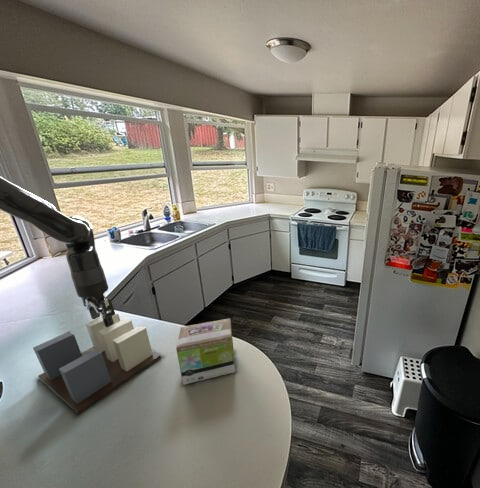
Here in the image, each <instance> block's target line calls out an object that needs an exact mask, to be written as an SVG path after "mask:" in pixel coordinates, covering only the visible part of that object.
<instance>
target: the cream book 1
mask: <svg viewBox="0 0 480 488" xmlns="http://www.w3.org/2000/svg"><path fill="white" fill-rule="evenodd" d="M114 312H115V315H113V316H112V318H113V322H114V324H115V323H117V322H119V321H121V318H120V315H119V313H118V312H116V311H114ZM85 327H86V329H87V332H88V335H89V339H90V340H91V342H92V343H91V344H92V347H94V349H97V350H98V351H100V352H103V351H105V350H104V347H103V344H102V341H101V338H100V335H99V331H101V330H103V329H105V328H107V327H105V324H104V321H103V318H102V316H100V317H98V318H96V319H92V320H91V321H88V322H87V323H85Z"/></svg>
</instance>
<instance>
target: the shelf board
mask: <svg viewBox="0 0 480 488" xmlns="http://www.w3.org/2000/svg"><path fill="white" fill-rule="evenodd" d="M93 350H95V349H94V346H92V347H90V348H88V349H86V350H85V351H81V354H82V356H84V355H86V354H88V353H90V352H91V351H93ZM101 353H102V355H103V358H104V361H105V364H106V367H107V370H108V373H109V376H110V378H111V382H110V383H109V384H107V385H106V386H104V387H102V388H101V389H99V390H98V391H96V392H95V393H93V394H92V395H90V396H89V397H87V398H86V399H84V400H83V401H81V402H80V403H78V404H77V403H76V402H75V401H73V400H72V398H71V396H70V393H69V391H68V389H67V387H66V384H65V382H64V380H63V377H62V375H59V376H58V377H56V378H54V379H52V380H50V379H49V378H47V377H46V375H45V373H44V372H43V373H41V374H38V375H37V377H38V379H39V380H40V381H41V382H42V383H44V385H46V386H47V387H48V388H49V389H50V390H51V391H52V392H54V394H55V395H56V396H58V397H59V398H60V399H61V400H62V401H63V402H64V403H65V404H66V405H68V407H70V408H71V409H72V410H73V411H74V412H75V413H76V414H77V415H80V414H81V413H83V412H84V411H86V410H87V409H89V408H90V407H92V406H93V405H95V404H96V403H97V402H99V401H100V400H102V399H103V398H105V397H107V396H108V395H109V394H111V393H113V392H114V391H115V390H116V389H118V388H119V387H121V386H122V385H124V384H126V382H128V381H129V380H131V379H133V378H134V377H135V376H137V375H139V374H140V373H141V372H143V371H144V370H146V369H147V368H149V367H150V366H152V365H154V363H156V362H157V361H159V360H160V359H162V357H161V355H160V354H159V353H158V352H155V351H154V350H152V353H153V355H151V356H150V357H148V358H147V359H145V360H144V361H142V362H141V363H139V364H138V365H136V366H135V367H133V368H132V369H130V370H128V371H127V372H126V371H125V370H123V369H122V368H121V366H120V363H119V359H117V360H115V361H114V362H112V361H110V360H109V359H107V356H106V353H105V351H103V352H101Z"/></svg>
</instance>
